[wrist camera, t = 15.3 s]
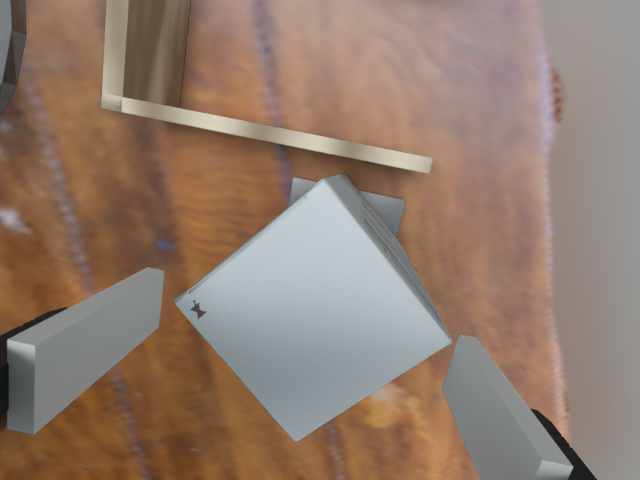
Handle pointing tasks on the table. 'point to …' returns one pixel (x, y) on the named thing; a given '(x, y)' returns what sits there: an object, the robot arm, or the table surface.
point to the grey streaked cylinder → (11, 46)
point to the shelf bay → (167, 76)
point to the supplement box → (317, 308)
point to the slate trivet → (382, 204)
